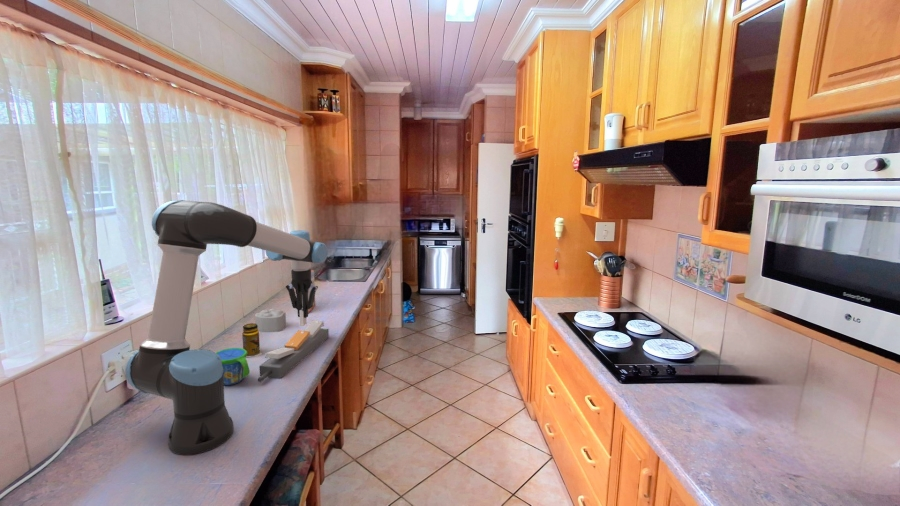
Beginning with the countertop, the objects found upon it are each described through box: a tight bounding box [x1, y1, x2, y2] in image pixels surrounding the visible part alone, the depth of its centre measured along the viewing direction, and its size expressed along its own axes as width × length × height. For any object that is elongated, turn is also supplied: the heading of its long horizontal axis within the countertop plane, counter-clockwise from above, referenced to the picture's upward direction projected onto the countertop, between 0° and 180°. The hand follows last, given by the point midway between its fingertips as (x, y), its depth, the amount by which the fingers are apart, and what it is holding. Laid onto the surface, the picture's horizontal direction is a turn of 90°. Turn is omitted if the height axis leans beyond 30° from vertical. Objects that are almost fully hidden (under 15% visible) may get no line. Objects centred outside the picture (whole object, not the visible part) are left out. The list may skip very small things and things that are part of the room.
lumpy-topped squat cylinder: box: [254, 308, 287, 333], centre depth 192 cm, size 10×13×9 cm
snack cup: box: [215, 347, 251, 386], centre depth 141 cm, size 16×10×10 cm
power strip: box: [257, 327, 330, 383], centre depth 162 cm, size 46×8×4 cm, turn 172°
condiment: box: [241, 322, 263, 358], centre depth 163 cm, size 7×8×12 cm
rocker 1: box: [265, 347, 294, 359], centre depth 151 cm, size 11×5×2 cm, turn 172°
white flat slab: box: [303, 319, 325, 338], centre depth 176 cm, size 11×5×2 cm, turn 172°
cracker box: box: [302, 269, 316, 314], centre depth 220 cm, size 14×6×21 cm, turn 3°
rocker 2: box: [284, 330, 310, 350], centre depth 164 cm, size 11×5×2 cm, turn 172°
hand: (303, 324), depth 168 cm, fingers closed
